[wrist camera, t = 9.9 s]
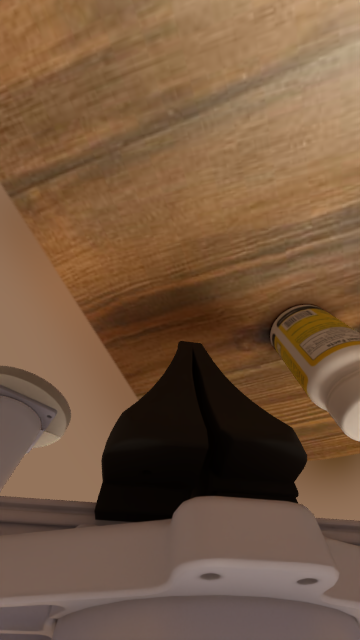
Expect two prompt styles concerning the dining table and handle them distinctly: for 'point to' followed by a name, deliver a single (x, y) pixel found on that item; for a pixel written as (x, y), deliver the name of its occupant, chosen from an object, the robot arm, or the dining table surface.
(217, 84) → the dining table surface
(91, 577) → the robot arm
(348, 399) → the supplement bottle
